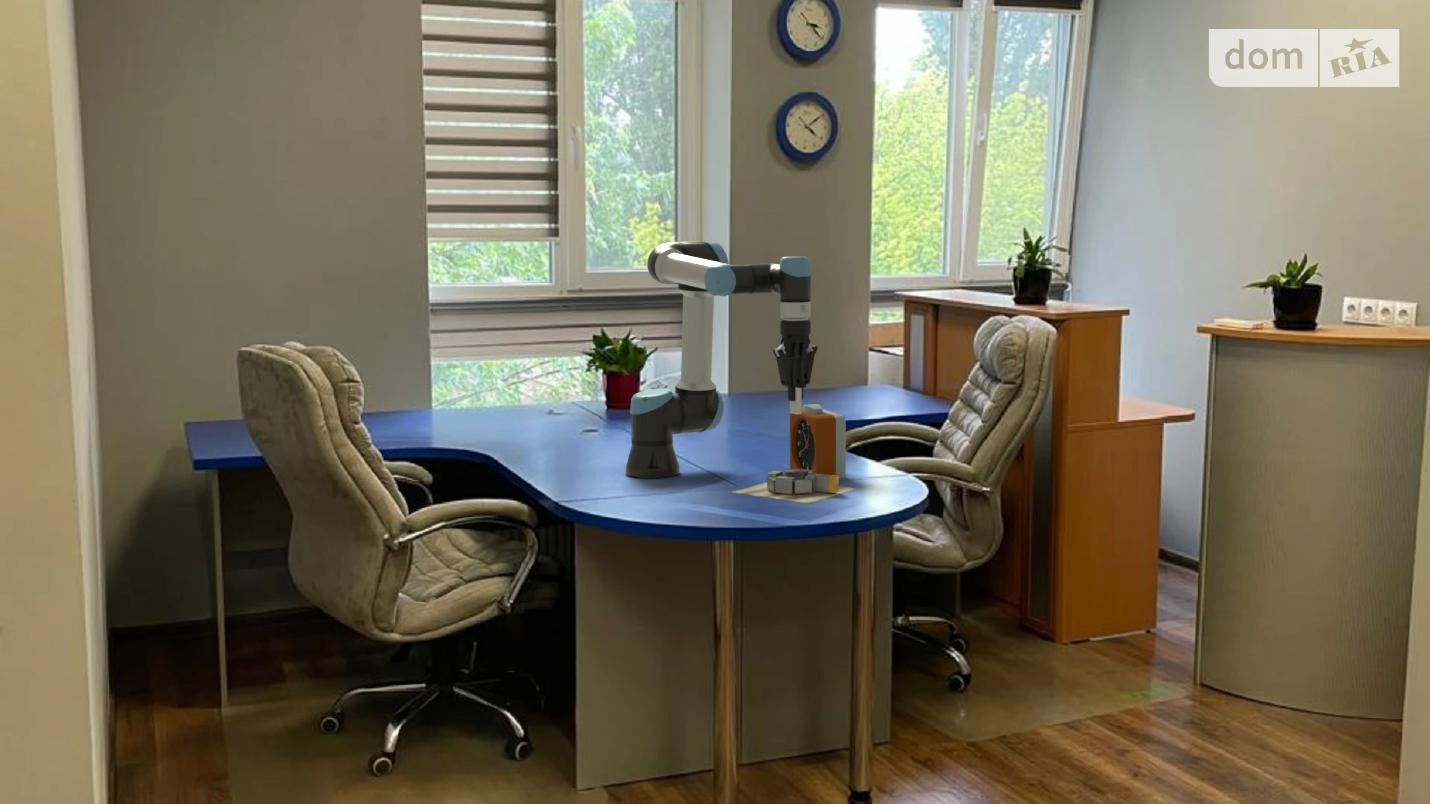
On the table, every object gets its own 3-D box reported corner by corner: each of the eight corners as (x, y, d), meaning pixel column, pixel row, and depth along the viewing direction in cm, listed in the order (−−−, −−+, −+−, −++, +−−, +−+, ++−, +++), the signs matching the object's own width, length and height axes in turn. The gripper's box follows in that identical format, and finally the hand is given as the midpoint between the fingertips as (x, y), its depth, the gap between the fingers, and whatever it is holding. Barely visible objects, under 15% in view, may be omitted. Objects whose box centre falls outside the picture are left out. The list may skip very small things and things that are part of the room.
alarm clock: (788, 474, 375) (788, 400, 372) (817, 471, 378) (817, 399, 375) (817, 486, 358) (816, 409, 355) (846, 483, 361) (846, 407, 358)
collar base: (730, 497, 343) (730, 472, 343) (780, 483, 361) (780, 460, 360) (809, 509, 329) (809, 483, 328) (856, 494, 346) (856, 469, 345)
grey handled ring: (760, 491, 342) (760, 475, 341) (780, 482, 353) (780, 466, 353) (827, 497, 334) (827, 480, 333) (846, 487, 345) (846, 471, 344)
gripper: (785, 321, 325) (785, 417, 329) (825, 318, 333) (825, 412, 336) (765, 319, 331) (765, 414, 334) (805, 316, 339) (805, 409, 342)
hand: (795, 413), depth 335 cm, fingers closed
